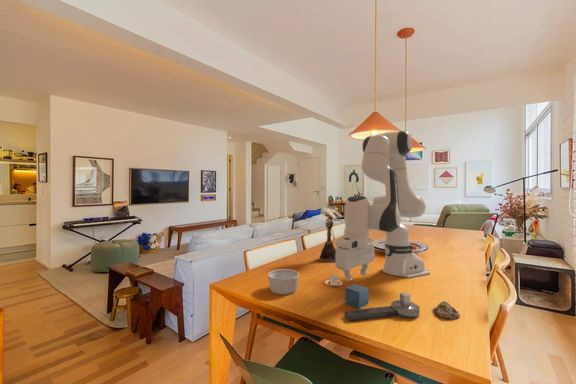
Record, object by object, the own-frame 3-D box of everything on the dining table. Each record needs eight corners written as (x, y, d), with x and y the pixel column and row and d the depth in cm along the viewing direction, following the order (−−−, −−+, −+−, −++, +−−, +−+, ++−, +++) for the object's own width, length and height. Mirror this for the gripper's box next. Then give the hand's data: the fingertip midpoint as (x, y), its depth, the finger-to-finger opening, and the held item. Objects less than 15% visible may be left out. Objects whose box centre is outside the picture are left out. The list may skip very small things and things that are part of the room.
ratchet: (352, 326, 86) (352, 305, 86) (341, 313, 95) (341, 294, 95) (425, 317, 91) (425, 298, 91) (408, 305, 100) (408, 288, 100)
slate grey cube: (354, 299, 106) (354, 283, 106) (368, 303, 102) (368, 287, 102) (345, 303, 102) (345, 287, 102) (359, 308, 98) (359, 292, 98)
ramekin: (275, 298, 108) (275, 281, 107) (263, 287, 119) (263, 271, 119) (304, 292, 114) (304, 275, 114) (290, 282, 125) (289, 267, 125)
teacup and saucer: (338, 289, 118) (338, 279, 118) (321, 285, 122) (321, 276, 122) (345, 282, 125) (345, 274, 125) (329, 279, 130) (329, 271, 129)
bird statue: (351, 260, 162) (351, 201, 161) (340, 264, 152) (340, 202, 151) (327, 255, 173) (327, 200, 172) (315, 259, 163) (315, 201, 162)
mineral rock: (462, 316, 87) (435, 304, 91) (458, 328, 88) (431, 316, 92) (460, 304, 97) (436, 294, 100) (456, 315, 97) (432, 305, 101)
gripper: (364, 235, 111) (364, 270, 111) (332, 242, 97) (332, 281, 97) (378, 237, 106) (378, 273, 106) (347, 244, 92) (346, 285, 92)
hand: (356, 277), depth 101 cm, fingers open, 8 cm apart
